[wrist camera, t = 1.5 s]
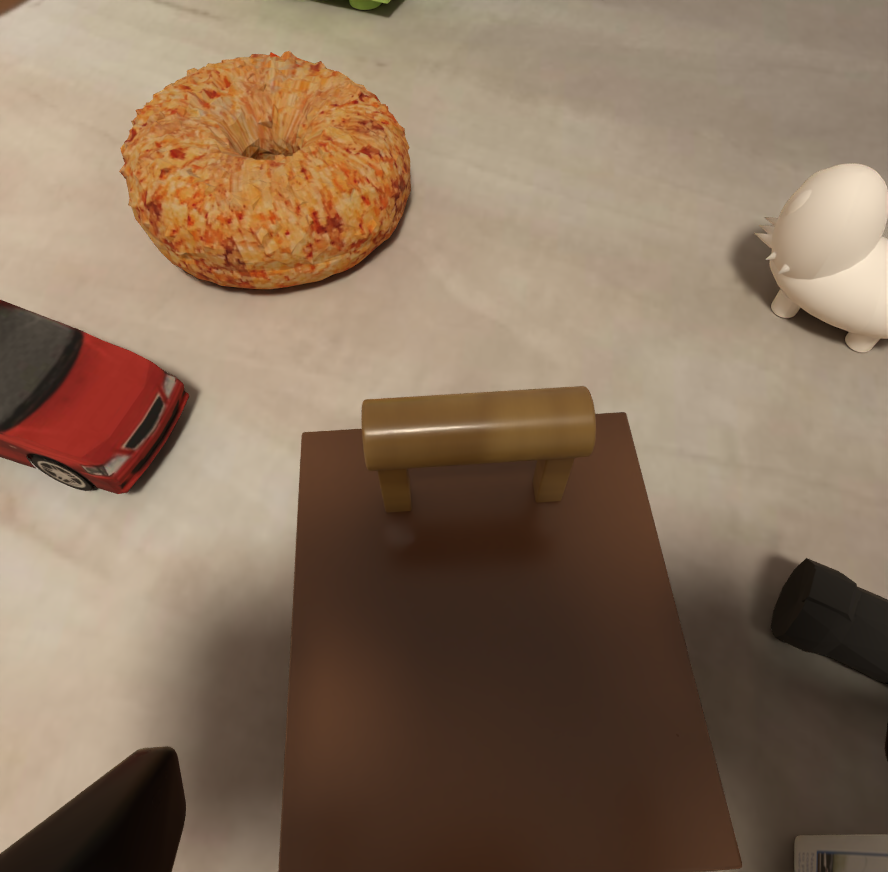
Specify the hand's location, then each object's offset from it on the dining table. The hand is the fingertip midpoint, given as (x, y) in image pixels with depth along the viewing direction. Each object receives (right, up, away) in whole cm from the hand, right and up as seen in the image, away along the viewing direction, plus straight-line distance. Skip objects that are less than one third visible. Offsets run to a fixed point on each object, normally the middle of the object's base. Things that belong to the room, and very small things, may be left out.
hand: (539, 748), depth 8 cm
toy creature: (+15, +9, +20) cm, 27 cm away
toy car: (-19, +5, +18) cm, 26 cm away
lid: (0, -1, +8) cm, 8 cm away
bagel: (-9, +15, +24) cm, 30 cm away
